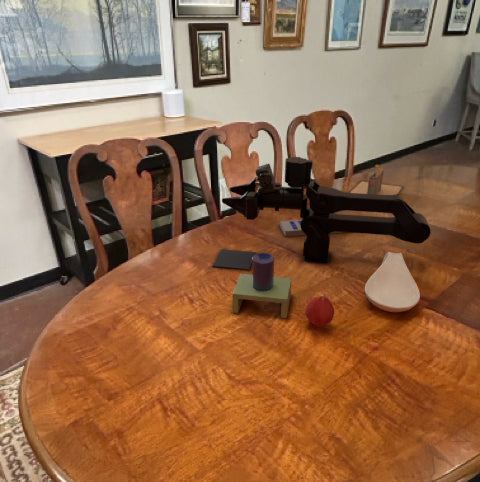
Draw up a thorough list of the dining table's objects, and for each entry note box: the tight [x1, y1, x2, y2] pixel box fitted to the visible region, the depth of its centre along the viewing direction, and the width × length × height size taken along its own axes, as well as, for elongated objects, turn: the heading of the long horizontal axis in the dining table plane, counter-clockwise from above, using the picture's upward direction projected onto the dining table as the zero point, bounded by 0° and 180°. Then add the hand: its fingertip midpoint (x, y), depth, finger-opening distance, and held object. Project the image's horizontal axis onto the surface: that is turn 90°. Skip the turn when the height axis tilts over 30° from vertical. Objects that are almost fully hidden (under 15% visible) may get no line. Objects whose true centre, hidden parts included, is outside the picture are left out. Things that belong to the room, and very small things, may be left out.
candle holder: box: [251, 252, 275, 291], centre depth 92 cm, size 5×5×7 cm
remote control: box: [279, 219, 348, 237], centre depth 132 cm, size 8×23×2 cm, turn 96°
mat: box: [212, 249, 257, 271], centre depth 115 cm, size 10×10×1 cm
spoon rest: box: [364, 251, 421, 313], centre depth 99 cm, size 24×12×7 cm, turn 163°
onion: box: [305, 294, 335, 328], centre depth 87 cm, size 6×6×8 cm
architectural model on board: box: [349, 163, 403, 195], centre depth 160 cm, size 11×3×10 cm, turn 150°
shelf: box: [231, 273, 292, 319], centre depth 95 cm, size 12×9×5 cm
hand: (226, 194), depth 113 cm, fingers open, 9 cm apart
